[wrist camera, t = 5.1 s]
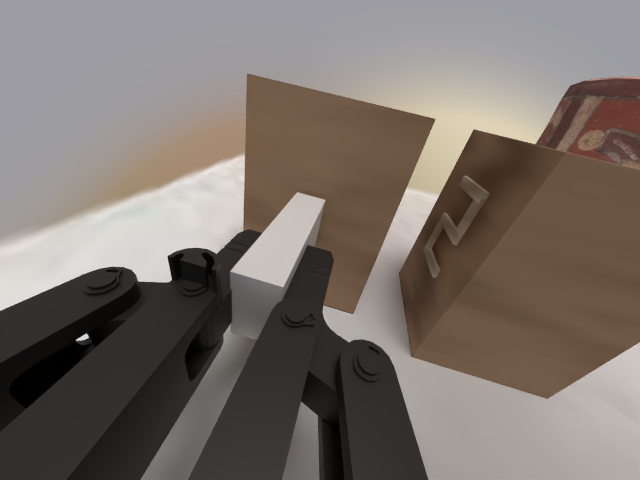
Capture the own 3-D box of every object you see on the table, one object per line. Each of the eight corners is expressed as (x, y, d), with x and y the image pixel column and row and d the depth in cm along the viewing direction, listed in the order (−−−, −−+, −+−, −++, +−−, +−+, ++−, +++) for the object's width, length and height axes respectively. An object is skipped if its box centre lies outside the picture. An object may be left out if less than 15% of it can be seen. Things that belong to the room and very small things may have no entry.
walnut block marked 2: (396, 273, 20) (470, 128, 14) (488, 299, 20) (608, 162, 14) (408, 355, 14) (559, 151, 7) (547, 398, 13) (840, 218, 7)
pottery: (453, 213, 37) (531, 80, 27) (554, 236, 38) (666, 114, 28) (528, 294, 22) (758, 66, 12) (693, 329, 23) (1034, 139, 13)
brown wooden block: (280, 228, 23) (298, 86, 16) (358, 250, 22) (408, 112, 16) (242, 280, 16) (246, 73, 10) (352, 313, 16) (435, 119, 9)
